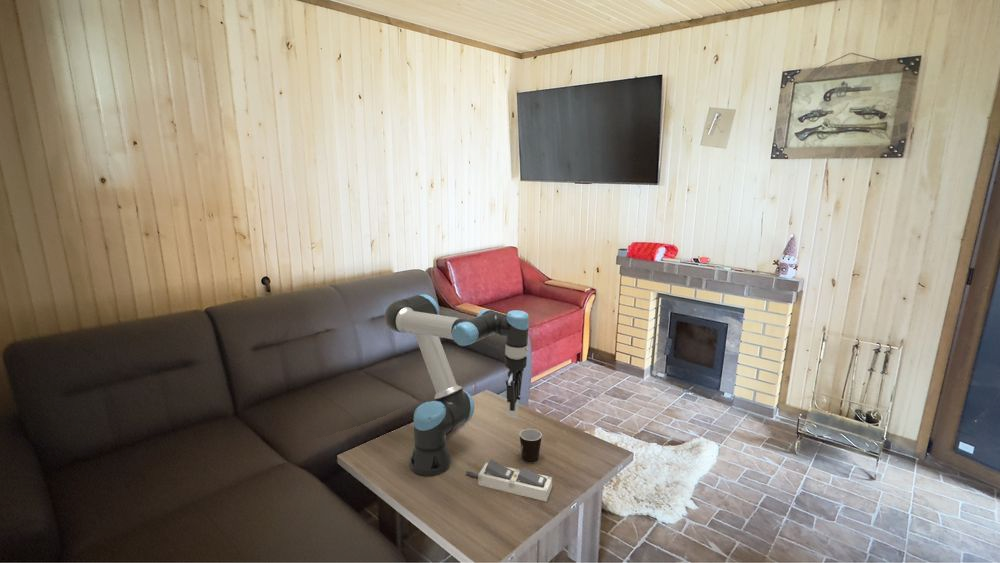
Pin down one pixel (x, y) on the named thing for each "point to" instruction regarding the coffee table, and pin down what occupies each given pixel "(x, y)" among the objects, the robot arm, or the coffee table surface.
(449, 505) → the coffee table surface
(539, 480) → the rocker
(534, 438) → the coffee mug
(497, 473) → the rocker
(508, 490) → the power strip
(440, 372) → the robot arm
